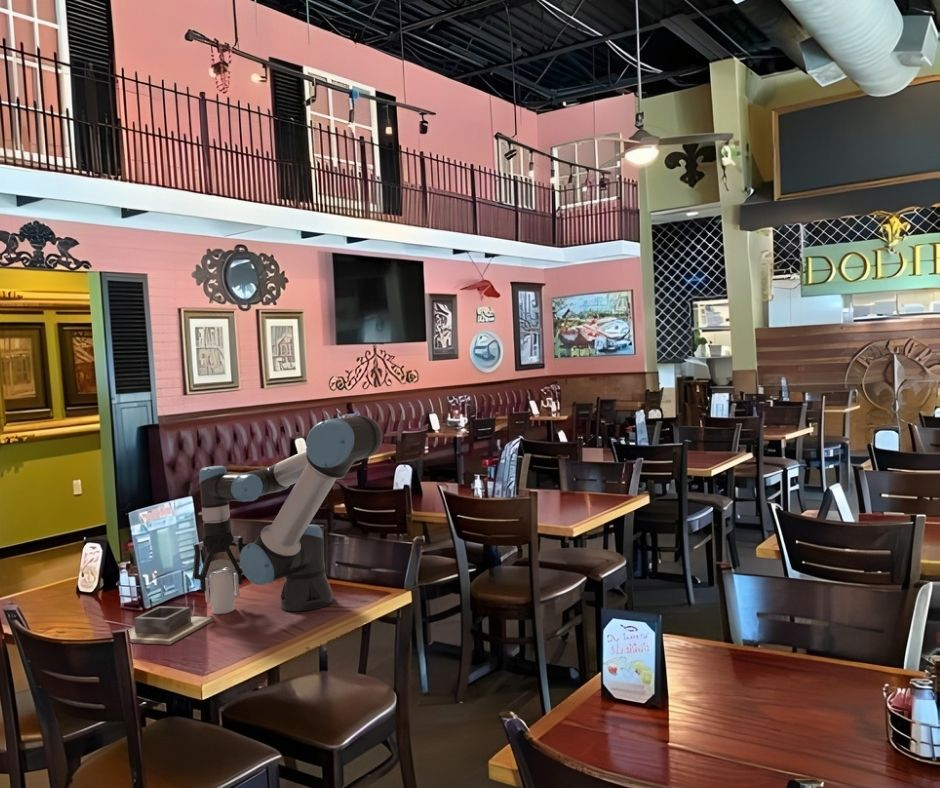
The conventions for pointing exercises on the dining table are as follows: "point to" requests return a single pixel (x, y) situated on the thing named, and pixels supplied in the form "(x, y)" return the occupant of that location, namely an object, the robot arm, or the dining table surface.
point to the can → (222, 591)
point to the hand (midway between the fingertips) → (222, 598)
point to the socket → (165, 625)
